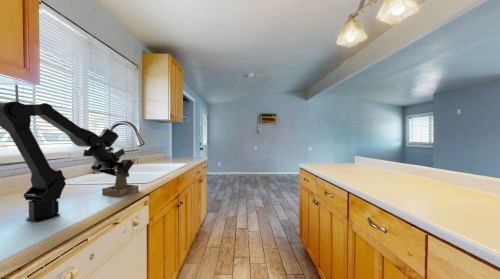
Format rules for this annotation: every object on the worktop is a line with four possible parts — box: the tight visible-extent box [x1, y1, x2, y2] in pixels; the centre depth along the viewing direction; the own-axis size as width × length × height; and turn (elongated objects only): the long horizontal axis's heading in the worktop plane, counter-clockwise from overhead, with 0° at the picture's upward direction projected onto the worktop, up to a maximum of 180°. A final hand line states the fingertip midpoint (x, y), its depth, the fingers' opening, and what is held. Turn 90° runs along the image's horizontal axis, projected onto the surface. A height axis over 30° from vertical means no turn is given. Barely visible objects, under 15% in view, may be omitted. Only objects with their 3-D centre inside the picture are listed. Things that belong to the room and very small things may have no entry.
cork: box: [114, 170, 128, 190], centre depth 104 cm, size 6×6×11 cm
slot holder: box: [101, 183, 139, 198], centre depth 104 cm, size 11×11×3 cm
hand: (123, 176), depth 105 cm, fingers open, 6 cm apart
